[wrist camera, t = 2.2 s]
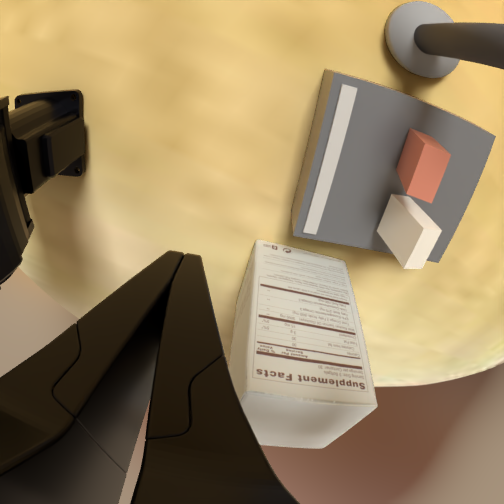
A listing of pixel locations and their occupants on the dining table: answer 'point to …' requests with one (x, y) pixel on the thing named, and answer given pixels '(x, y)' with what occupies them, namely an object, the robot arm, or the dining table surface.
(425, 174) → the terracotta brick
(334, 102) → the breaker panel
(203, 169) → the dining table surface
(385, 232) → the cream flat brick
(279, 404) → the supplement box
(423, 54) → the stand
